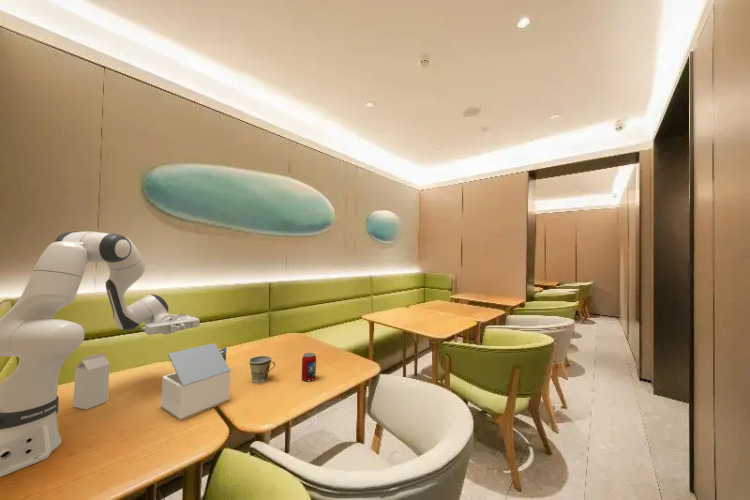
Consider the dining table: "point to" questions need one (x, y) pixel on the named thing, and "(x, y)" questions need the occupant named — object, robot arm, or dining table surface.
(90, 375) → the milk carton
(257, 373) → the ceramic cup
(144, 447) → the dining table surface
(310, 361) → the beverage can
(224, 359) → the label tape box
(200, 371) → the carton lid flap
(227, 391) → the carton
